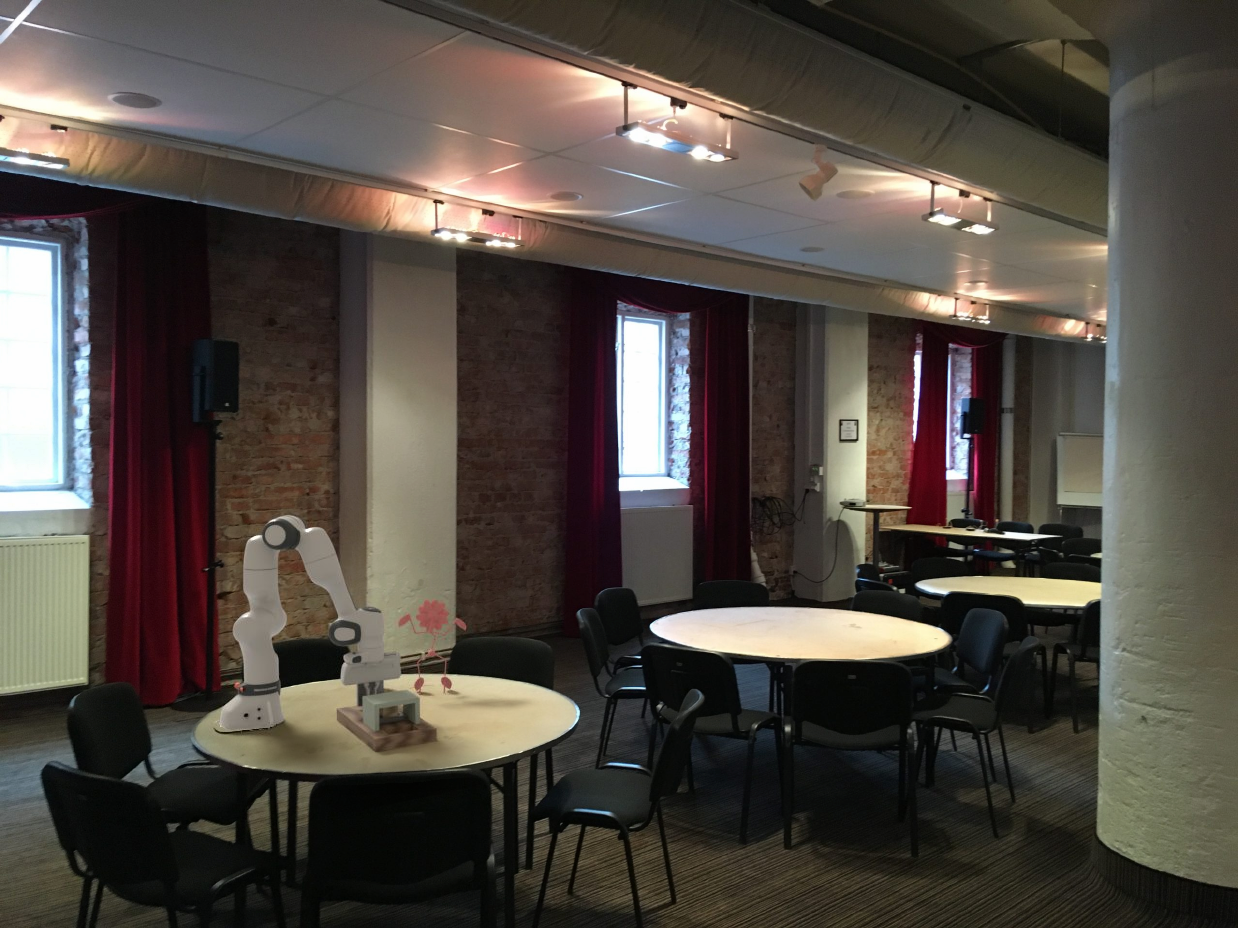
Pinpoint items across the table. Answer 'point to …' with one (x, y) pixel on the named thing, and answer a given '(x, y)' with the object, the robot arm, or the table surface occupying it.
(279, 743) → the table surface
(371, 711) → the tunnel
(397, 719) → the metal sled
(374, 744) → the walnut deck
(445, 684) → the pink flower toy
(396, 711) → the maple block
